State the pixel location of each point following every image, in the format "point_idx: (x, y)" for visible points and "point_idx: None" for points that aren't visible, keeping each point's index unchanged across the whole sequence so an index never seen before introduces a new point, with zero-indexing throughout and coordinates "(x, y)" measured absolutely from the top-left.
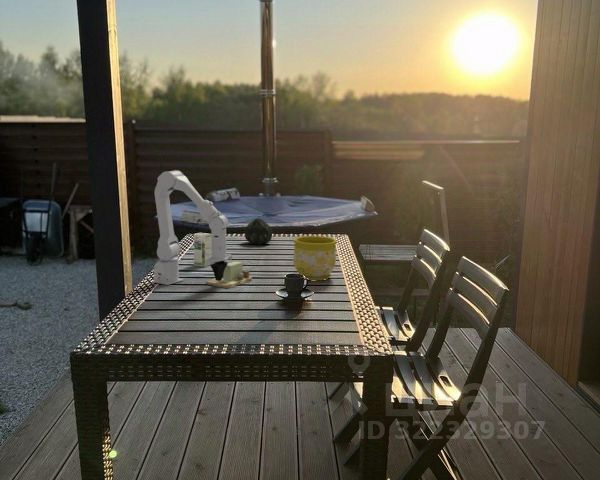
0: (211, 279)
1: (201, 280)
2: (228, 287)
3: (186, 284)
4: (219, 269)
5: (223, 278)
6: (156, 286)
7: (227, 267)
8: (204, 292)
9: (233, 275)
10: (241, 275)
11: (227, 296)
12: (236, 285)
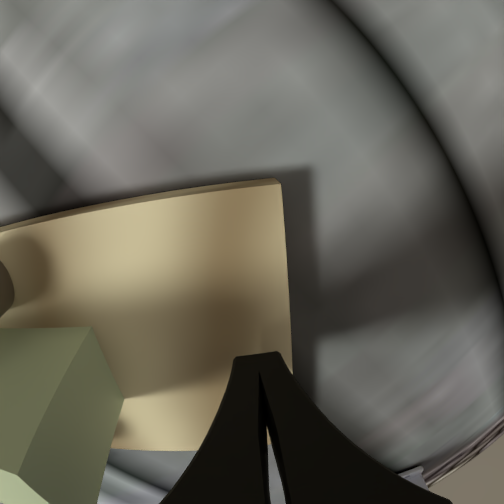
0: None
1: None
2: (265, 181)
3: None
4: (388, 469)
5: None
6: (445, 461)
7: (61, 483)
8: (491, 251)
9: (27, 357)
10: None
11: (472, 17)
12: (101, 203)
